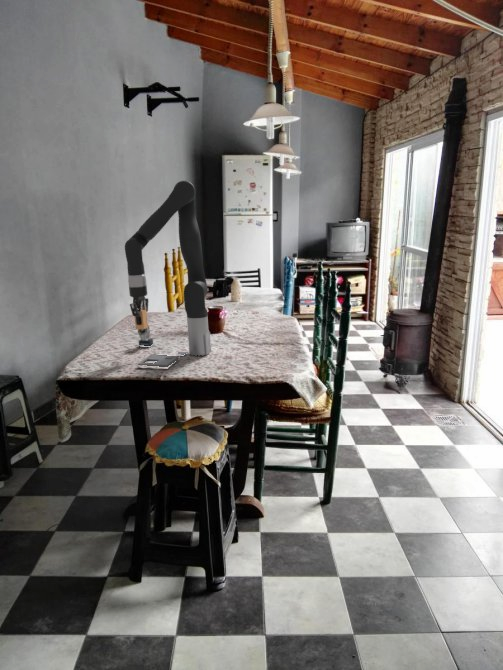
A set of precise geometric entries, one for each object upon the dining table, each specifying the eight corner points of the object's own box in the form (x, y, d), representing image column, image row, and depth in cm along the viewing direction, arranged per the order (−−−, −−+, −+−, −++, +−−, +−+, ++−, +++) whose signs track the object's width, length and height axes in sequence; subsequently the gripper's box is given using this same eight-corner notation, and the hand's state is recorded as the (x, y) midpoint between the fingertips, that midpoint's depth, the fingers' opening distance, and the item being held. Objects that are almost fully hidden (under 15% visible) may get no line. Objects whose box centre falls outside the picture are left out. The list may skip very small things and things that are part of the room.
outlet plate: (178, 360, 224) (178, 355, 224) (167, 369, 212) (166, 364, 212) (151, 359, 228) (150, 354, 227) (138, 368, 215) (137, 363, 215)
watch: (137, 348, 245) (135, 326, 242) (143, 344, 253) (142, 322, 250) (148, 348, 244) (146, 326, 241) (154, 344, 252) (152, 322, 249)
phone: (161, 353, 239) (161, 350, 238) (188, 354, 235) (188, 351, 235) (156, 356, 233) (156, 354, 233) (183, 358, 230) (183, 355, 229)
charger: (148, 327, 229) (146, 309, 227) (144, 329, 225) (142, 310, 223) (139, 326, 230) (137, 308, 228) (135, 329, 226) (133, 310, 224)
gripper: (138, 287, 215) (142, 327, 219) (152, 282, 228) (156, 320, 233) (121, 287, 217) (126, 327, 221) (136, 282, 230) (140, 320, 235)
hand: (141, 323), depth 227 cm, fingers closed on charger, 4 cm apart
